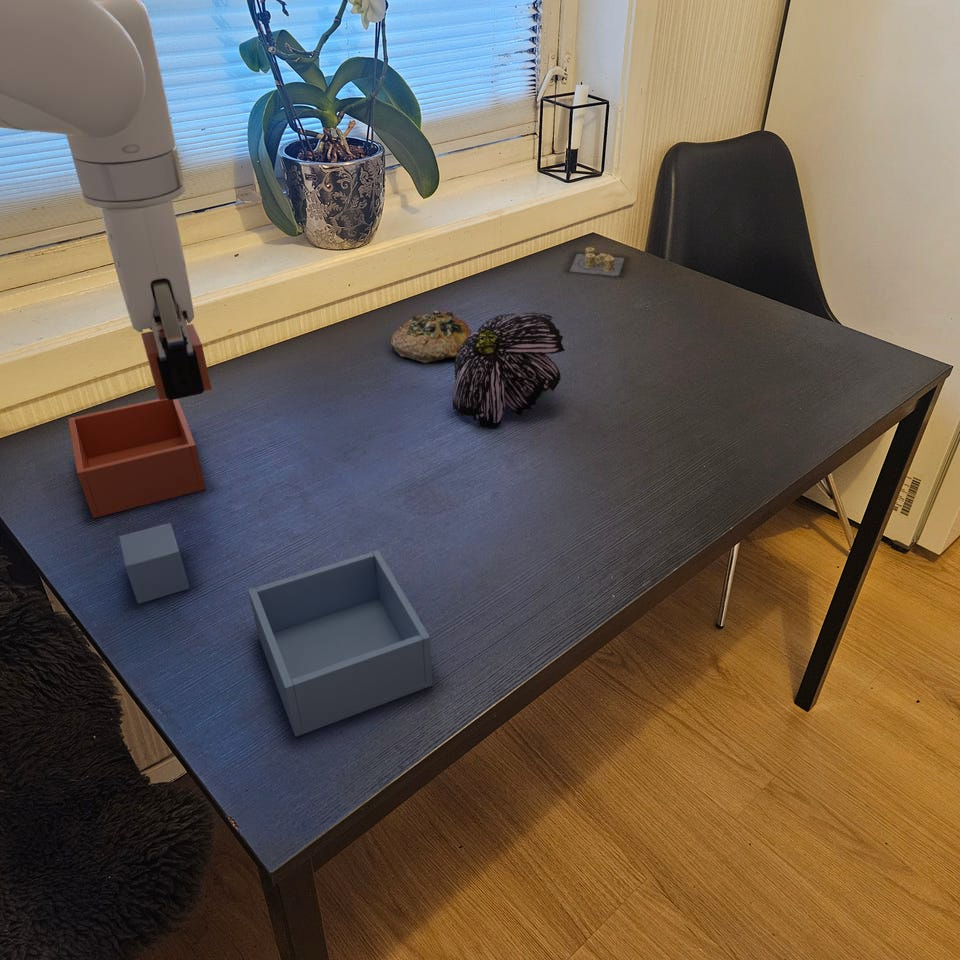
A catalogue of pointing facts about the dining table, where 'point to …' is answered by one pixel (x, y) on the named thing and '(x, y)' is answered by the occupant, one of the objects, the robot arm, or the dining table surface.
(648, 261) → the dining table surface
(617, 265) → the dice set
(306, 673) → the slate bin
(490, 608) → the dining table surface
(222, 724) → the dining table surface
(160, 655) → the dining table surface
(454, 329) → the bread roll
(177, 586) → the slate block
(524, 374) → the decorative flower
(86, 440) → the terracotta bin
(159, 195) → the robot arm
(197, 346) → the terracotta block
